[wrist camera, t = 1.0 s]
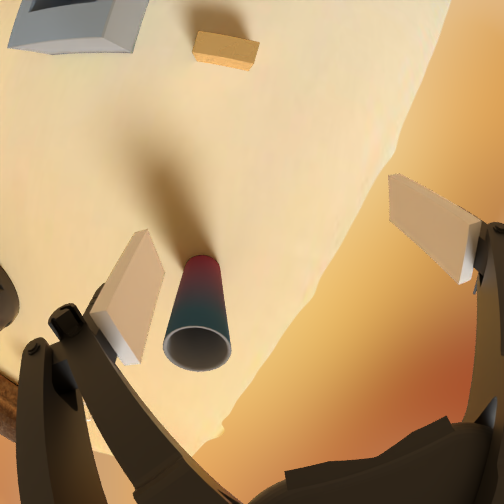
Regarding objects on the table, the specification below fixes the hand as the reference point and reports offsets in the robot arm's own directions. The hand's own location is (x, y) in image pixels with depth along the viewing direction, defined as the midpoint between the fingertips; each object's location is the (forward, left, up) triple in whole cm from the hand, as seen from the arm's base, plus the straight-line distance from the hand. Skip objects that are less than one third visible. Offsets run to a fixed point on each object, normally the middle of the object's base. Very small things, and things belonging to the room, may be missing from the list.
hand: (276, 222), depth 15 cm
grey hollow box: (-22, +16, -21) cm, 35 cm away
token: (-5, +11, -21) cm, 25 cm away
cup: (-2, -17, -22) cm, 27 cm away
